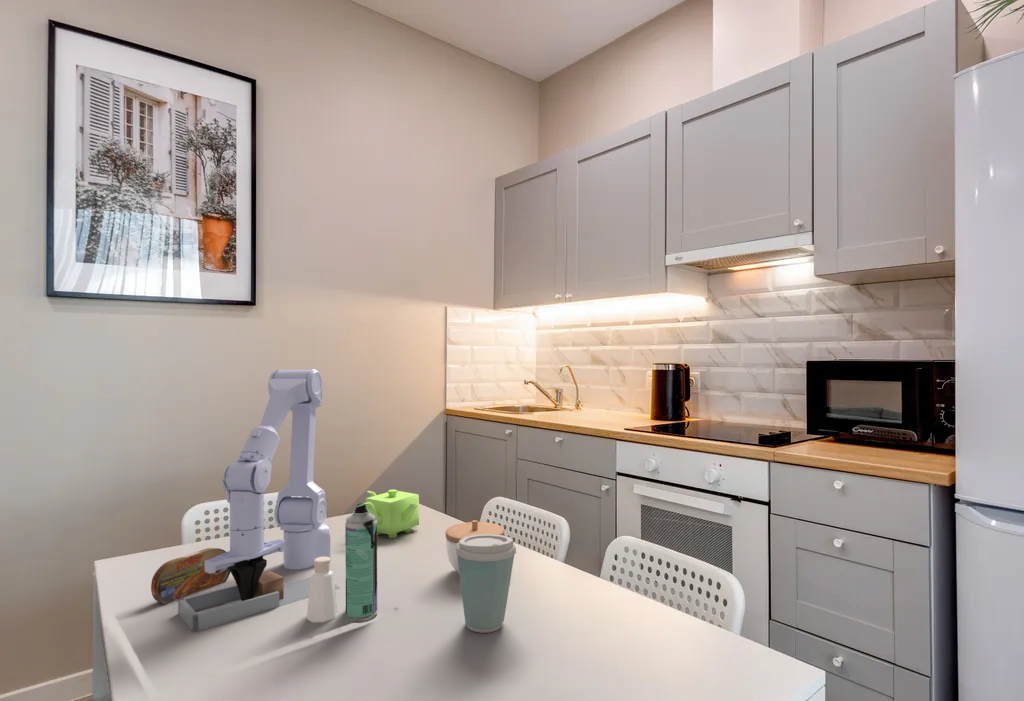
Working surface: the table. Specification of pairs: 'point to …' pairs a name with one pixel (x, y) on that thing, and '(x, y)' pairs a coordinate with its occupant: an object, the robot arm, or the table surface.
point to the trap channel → (236, 604)
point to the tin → (186, 576)
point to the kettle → (394, 511)
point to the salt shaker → (322, 592)
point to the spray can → (361, 564)
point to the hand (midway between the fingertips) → (247, 600)
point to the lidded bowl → (466, 530)
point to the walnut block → (270, 584)
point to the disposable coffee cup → (485, 579)
